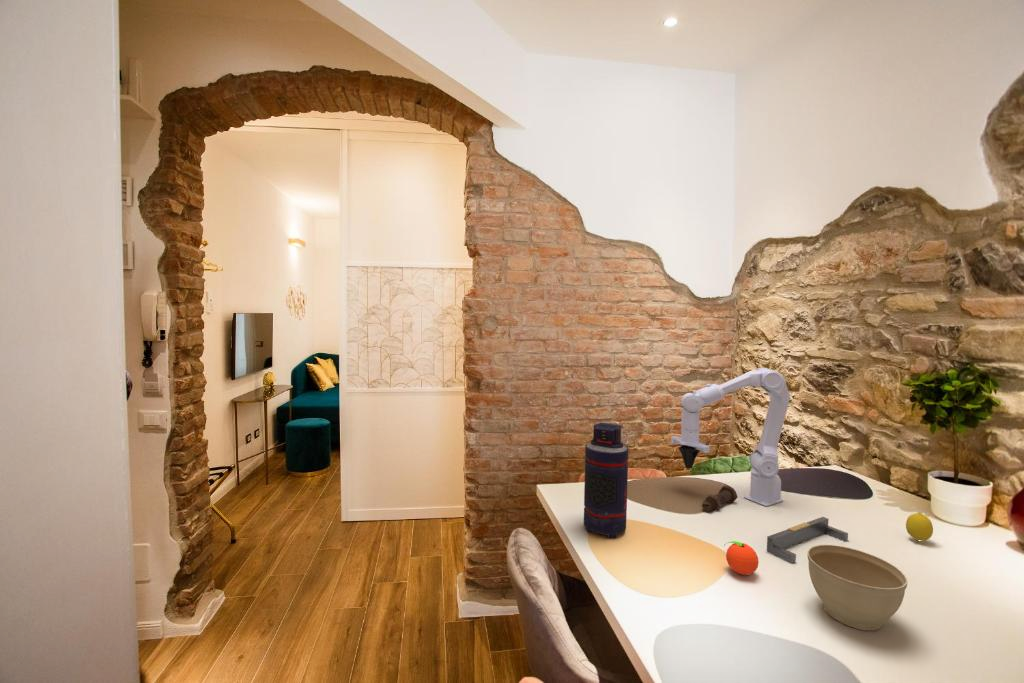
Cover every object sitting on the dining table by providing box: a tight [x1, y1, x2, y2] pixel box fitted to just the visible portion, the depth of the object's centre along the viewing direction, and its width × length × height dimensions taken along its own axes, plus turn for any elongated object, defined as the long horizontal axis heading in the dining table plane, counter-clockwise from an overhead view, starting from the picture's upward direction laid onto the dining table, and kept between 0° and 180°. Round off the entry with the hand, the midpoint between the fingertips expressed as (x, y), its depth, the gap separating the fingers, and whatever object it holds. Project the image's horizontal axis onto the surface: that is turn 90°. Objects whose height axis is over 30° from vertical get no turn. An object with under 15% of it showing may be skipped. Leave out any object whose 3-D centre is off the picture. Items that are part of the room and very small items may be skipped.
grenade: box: [583, 421, 629, 539], centre depth 129 cm, size 14×12×30 cm
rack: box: [766, 516, 849, 564], centre depth 121 cm, size 26×6×4 cm, turn 118°
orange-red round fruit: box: [723, 540, 760, 576], centre depth 108 cm, size 8×7×7 cm
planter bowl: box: [807, 544, 908, 631], centre depth 92 cm, size 16×16×11 cm
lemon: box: [905, 512, 934, 541], centre depth 124 cm, size 6×6×8 cm
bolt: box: [701, 485, 738, 512], centre depth 145 cm, size 6×5×15 cm
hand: (688, 467), depth 155 cm, fingers closed
